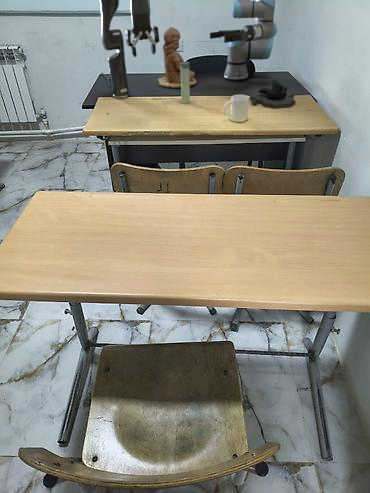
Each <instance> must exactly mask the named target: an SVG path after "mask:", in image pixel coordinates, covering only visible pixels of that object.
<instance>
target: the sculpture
mask: <svg viewBox="0 0 370 493" xmlns="http://www.w3.org/2000/svg"><path fill="white" fill-rule="evenodd" d="M163 40H164V44H163V45H162V50H163V61H164V71H165V73H164V75H165V76H163V77H159V78H158V79H157V80H158V84H159V86H161V87H163V88H168V89H169V88H181V67H180V62H185V60H184V58H183V57H182V56H183V55H180V53H179V52H178V51H177V50H178V49H179V46H180V40H181V33H180V32H179V30H178V29H177V28H174V27H168V28H167V29H166V30H165V31H164V33H163ZM195 76H196V74H195V72H194V71H192V70H189V79H190V87H192V86H194V85H196V83H197V82H198V81H197V79H195Z"/></svg>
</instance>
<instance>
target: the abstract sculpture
mask: <svg viewBox="0 0 370 493" xmlns="http://www.w3.org/2000/svg"><path fill="white" fill-rule="evenodd" d="M294 96H295V94H294V93H293V91H291V90H289V91H288V87H287V86H283V84H282V83H280V82H279V81H277V80H276V79H275V80H274V79H273V80H272V84H271V88H269V87H261V88H260V89H259V90H258V92H255V93H251V94H249V100H251V104H252V106H257V104H258V105H260V104H262V106H263V107H267V108H272V109H279V108H280V109H281V108H291V107H292V106H294V105H295V104H296V100H295V98H294Z"/></svg>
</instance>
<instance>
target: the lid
mask: <svg viewBox="0 0 370 493" xmlns="http://www.w3.org/2000/svg"><path fill="white" fill-rule="evenodd" d="M180 67H181V68H189V69H190V67H191V63H190V61H184V62H180Z"/></svg>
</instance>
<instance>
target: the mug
mask: <svg viewBox="0 0 370 493" xmlns="http://www.w3.org/2000/svg"><path fill="white" fill-rule="evenodd" d="M249 104H250V96H248V95H246V94H233V95H232V96H231V99H230V100H229V101H227V102H225V104H224V106H223V109H222V110H223V114H224V115H225V116H226V117H228V118H229V119H230V120H231V121H232V122H235V123H242V122H246V121H247V120H248V118H249V116H248V115H249ZM228 106H230V113H228V111H227V108H228Z"/></svg>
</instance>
